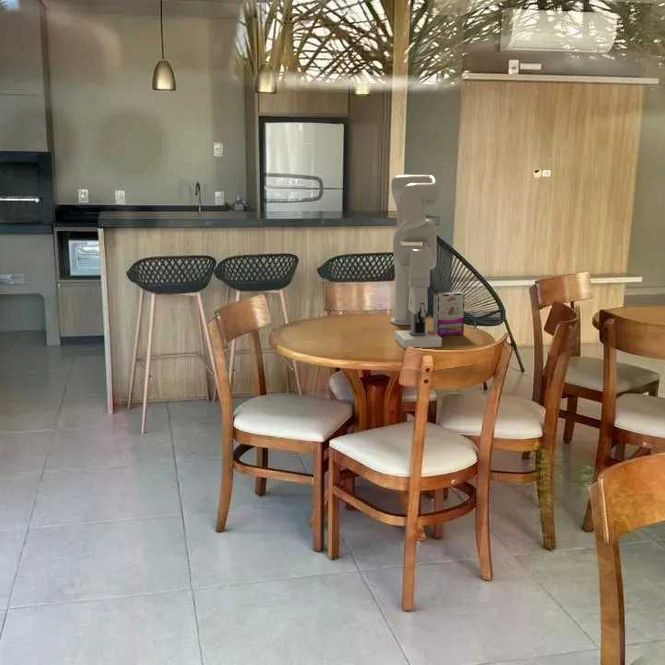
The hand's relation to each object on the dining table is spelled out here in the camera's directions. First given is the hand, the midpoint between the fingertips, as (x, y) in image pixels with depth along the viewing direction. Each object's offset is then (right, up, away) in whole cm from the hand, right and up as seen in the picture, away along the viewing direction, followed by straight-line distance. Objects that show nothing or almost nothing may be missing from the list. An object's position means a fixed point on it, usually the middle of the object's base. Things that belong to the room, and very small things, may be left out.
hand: (418, 330), depth 283 cm
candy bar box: (+13, -2, +14) cm, 19 cm away
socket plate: (0, -4, +1) cm, 5 cm away
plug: (0, -2, 0) cm, 2 cm away
